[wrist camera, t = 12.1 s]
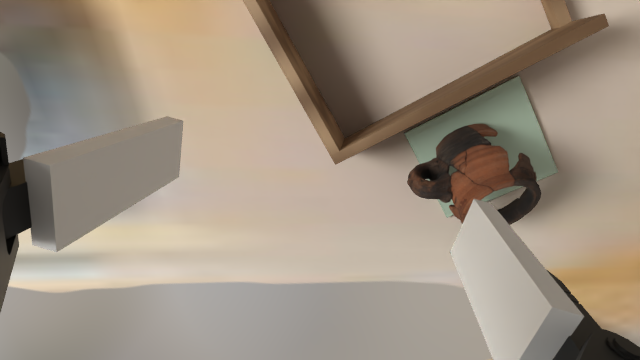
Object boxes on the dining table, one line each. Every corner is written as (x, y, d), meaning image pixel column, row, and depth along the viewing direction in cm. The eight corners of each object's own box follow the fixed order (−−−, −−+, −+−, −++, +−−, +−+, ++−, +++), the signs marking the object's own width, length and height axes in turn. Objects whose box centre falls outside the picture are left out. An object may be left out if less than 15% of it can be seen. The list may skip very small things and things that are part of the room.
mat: (404, 132, 36) (404, 133, 36) (517, 75, 33) (519, 76, 32) (446, 216, 39) (446, 217, 38) (556, 171, 35) (558, 172, 35)
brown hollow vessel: (516, 110, 34) (569, 164, 28) (491, 177, 40) (530, 232, 34) (398, 127, 33) (426, 185, 27) (393, 192, 40) (414, 249, 34)
